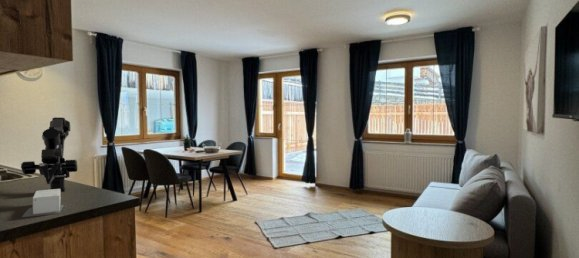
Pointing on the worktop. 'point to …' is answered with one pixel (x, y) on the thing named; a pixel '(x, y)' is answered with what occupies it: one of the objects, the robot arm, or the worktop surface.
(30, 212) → the grey square plate
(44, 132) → the robot arm
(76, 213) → the worktop surface
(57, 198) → the small box
